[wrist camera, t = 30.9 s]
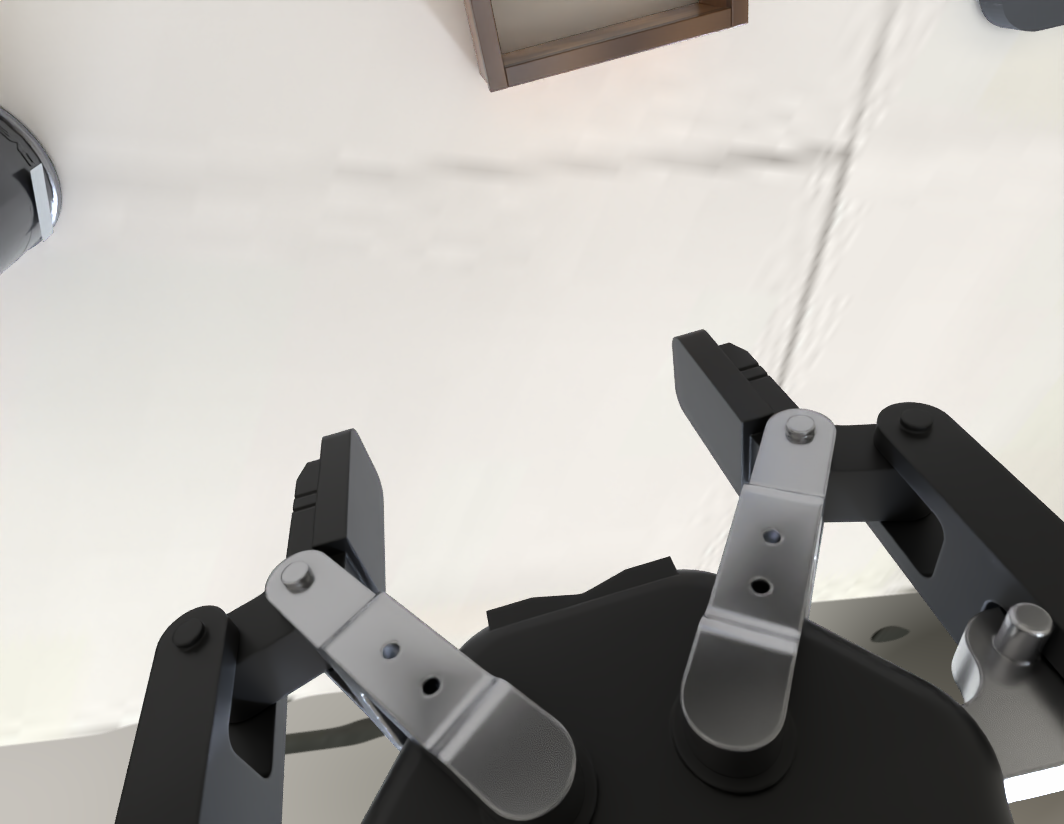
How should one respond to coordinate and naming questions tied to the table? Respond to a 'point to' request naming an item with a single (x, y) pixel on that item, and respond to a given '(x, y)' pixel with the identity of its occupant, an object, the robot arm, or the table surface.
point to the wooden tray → (593, 40)
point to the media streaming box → (1024, 13)
